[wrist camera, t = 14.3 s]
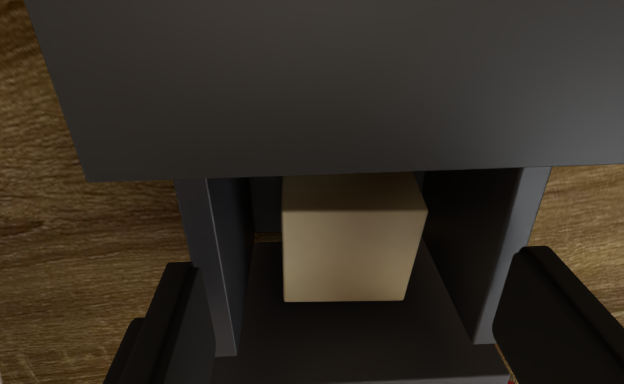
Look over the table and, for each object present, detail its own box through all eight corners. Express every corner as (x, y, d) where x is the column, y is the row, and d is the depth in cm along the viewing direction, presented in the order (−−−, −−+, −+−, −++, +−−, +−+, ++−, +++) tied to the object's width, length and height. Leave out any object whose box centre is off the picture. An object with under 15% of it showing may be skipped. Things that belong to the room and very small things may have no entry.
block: (285, 220, 18) (283, 302, 14) (283, 134, 15) (280, 211, 11) (382, 220, 18) (404, 301, 14) (398, 135, 15) (429, 210, 12)
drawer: (423, 312, 23) (479, 461, 16) (241, 320, 22) (218, 475, 16) (482, -22, 14) (654, -8, 7) (189, -15, 14) (89, 6, 7)
